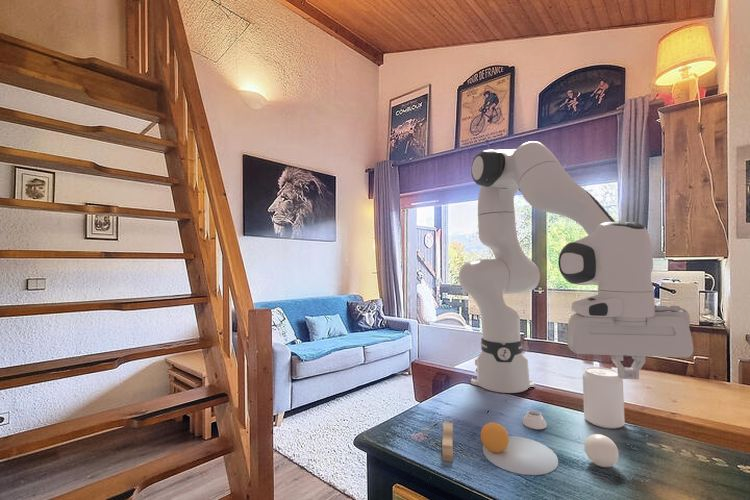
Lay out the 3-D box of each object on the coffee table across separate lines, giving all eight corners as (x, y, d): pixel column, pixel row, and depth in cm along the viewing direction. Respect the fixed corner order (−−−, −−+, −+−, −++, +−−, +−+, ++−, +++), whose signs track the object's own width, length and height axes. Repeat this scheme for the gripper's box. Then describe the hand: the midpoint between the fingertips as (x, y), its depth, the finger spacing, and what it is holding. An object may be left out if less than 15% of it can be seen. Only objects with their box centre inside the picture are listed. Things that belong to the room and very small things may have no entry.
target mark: (480, 434, 80) (480, 433, 80) (547, 439, 77) (547, 438, 77) (486, 470, 67) (486, 469, 67) (568, 479, 64) (568, 477, 64)
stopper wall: (443, 435, 80) (443, 422, 80) (452, 436, 80) (452, 422, 80) (442, 460, 70) (442, 445, 70) (453, 461, 70) (452, 446, 70)
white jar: (524, 419, 88) (522, 428, 83) (523, 407, 88) (521, 415, 83) (546, 423, 85) (546, 432, 81) (546, 411, 85) (545, 419, 81)
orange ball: (477, 419, 77) (503, 416, 76) (483, 444, 77) (509, 442, 75) (478, 432, 72) (506, 429, 70) (484, 459, 71) (513, 457, 70)
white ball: (613, 432, 70) (600, 454, 71) (586, 423, 70) (574, 446, 71) (630, 454, 64) (616, 478, 66) (601, 445, 64) (588, 469, 66)
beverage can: (631, 431, 80) (629, 377, 80) (591, 429, 82) (589, 376, 82) (615, 416, 88) (613, 366, 88) (579, 413, 90) (577, 365, 90)
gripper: (678, 303, 69) (681, 375, 69) (563, 303, 74) (565, 370, 73) (700, 308, 63) (703, 387, 63) (573, 307, 68) (576, 381, 67)
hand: (628, 378), depth 68 cm, fingers closed
